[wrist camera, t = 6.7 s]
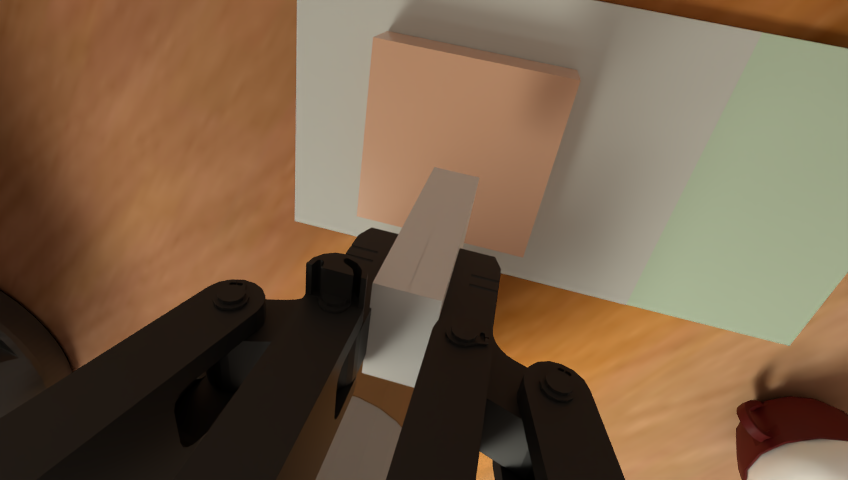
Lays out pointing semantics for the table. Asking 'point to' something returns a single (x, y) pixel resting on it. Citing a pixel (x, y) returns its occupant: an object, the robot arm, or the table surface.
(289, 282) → the table surface
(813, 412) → the cocoa
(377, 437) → the coffee cup
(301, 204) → the mat
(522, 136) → the tile
